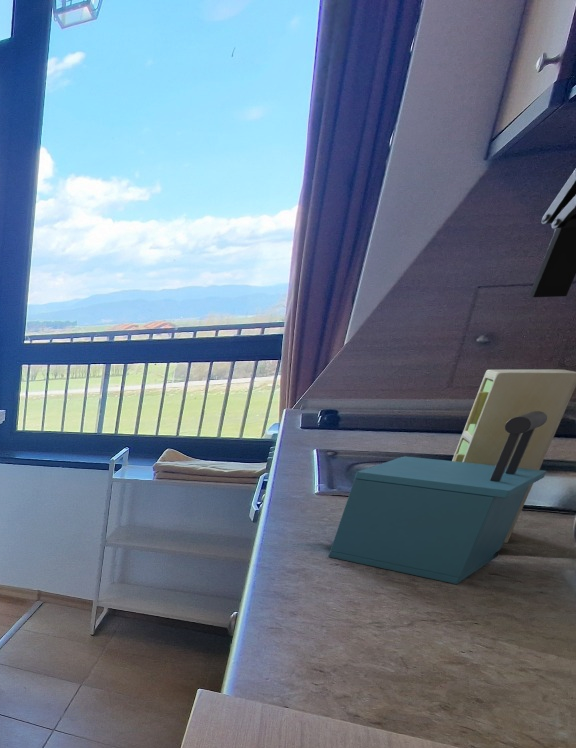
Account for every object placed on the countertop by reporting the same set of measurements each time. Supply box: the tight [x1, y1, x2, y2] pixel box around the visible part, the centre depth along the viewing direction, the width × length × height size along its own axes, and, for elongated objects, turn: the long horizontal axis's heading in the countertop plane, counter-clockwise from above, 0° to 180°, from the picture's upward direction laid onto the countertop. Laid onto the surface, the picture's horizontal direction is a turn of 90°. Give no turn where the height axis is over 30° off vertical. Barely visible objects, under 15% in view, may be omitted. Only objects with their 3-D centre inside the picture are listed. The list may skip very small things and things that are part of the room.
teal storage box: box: [328, 478, 529, 585], centre depth 75 cm, size 12×16×10 cm
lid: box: [354, 411, 547, 498], centre depth 71 cm, size 12×16×8 cm
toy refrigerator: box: [451, 369, 576, 544], centre depth 79 cm, size 8×7×21 cm
